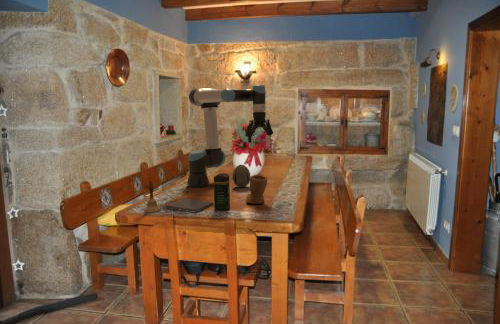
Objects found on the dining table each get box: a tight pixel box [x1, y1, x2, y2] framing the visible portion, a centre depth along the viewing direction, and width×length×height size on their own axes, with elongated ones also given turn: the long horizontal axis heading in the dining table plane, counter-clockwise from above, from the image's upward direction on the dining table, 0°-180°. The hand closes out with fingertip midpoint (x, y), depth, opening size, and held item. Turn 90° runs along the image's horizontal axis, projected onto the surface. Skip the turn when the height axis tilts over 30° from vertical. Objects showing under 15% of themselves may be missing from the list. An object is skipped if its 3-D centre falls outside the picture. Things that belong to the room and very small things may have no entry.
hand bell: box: [143, 179, 161, 213], centre depth 199 cm, size 8×8×16 cm
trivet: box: [165, 198, 214, 213], centre depth 206 cm, size 20×16×2 cm
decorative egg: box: [232, 164, 252, 188], centre depth 249 cm, size 12×12×15 cm
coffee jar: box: [213, 172, 231, 211], centre depth 201 cm, size 10×8×19 cm
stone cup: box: [245, 174, 268, 205], centre depth 213 cm, size 15×12×15 cm
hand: (259, 147), depth 230 cm, fingers open, 13 cm apart
